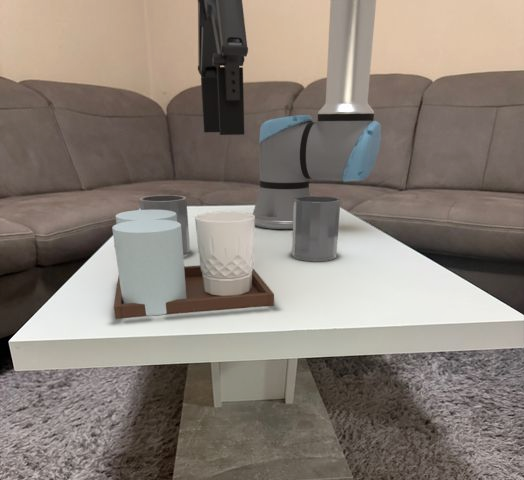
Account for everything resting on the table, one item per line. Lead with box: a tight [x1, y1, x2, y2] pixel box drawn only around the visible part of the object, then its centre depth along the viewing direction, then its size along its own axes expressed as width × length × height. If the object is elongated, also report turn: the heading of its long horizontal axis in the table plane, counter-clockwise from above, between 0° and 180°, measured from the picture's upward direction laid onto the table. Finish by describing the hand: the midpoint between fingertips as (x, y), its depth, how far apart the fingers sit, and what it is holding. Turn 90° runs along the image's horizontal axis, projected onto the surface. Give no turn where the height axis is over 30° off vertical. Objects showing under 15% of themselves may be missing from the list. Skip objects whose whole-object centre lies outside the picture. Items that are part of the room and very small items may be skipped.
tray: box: [113, 264, 275, 320], centre depth 63 cm, size 20×16×2 cm
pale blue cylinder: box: [111, 219, 187, 317], centre depth 56 cm, size 8×8×10 cm
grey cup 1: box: [139, 194, 191, 256], centre depth 82 cm, size 8×8×10 cm
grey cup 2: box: [291, 195, 341, 263], centre depth 81 cm, size 8×8×10 cm
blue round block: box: [115, 209, 177, 224], centre depth 63 cm, size 8×8×10 cm
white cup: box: [194, 210, 256, 296], centre depth 62 cm, size 8×8×10 cm
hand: (222, 133), depth 58 cm, fingers open, 13 cm apart
